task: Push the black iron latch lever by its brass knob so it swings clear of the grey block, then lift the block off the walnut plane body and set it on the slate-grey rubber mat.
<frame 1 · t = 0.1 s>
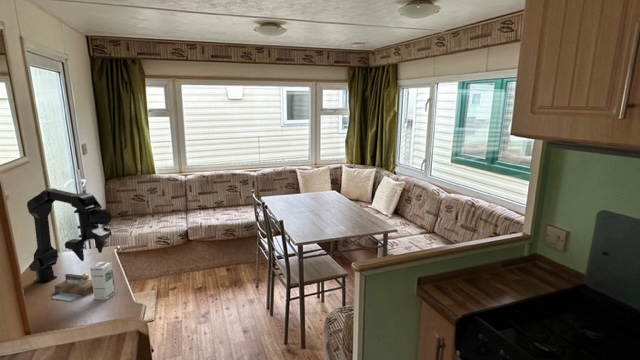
hand: (91, 256, 154), 15 cm above the cabinet, tool pointing down, fingers open, 9 cm apart
lever: (76, 278, 153), point 6 cm above the cabinet, hinge at 0.0°
plane body: (78, 289, 154), on the cabinet
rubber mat: (66, 297, 147), on the cabinet
syrup box: (105, 296, 149), on the cabinet
grey block: (77, 283, 153), point 3 cm above the cabinet, touching plane body
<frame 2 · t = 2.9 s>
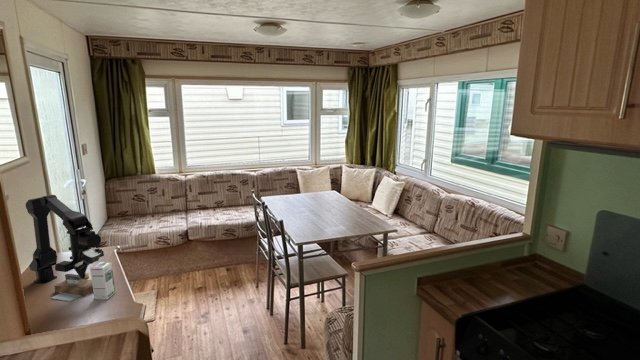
hand: (82, 278, 150), 7 cm above the cabinet, tool pointing down, fingers closed
lever: (77, 277, 153), point 5 cm above the cabinet, hinge at 1.4°, touching gripper
everything else where it was.
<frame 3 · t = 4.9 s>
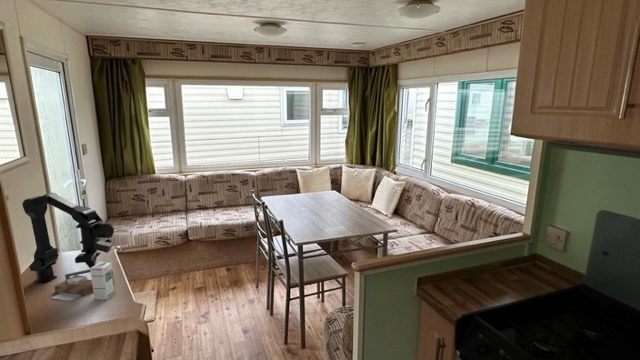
hand: (92, 270, 158), 7 cm above the cabinet, tool pointing down, fingers closed
lever: (81, 273, 157), point 6 cm above the cabinet, hinge at 47.2°, touching gripper
everything else where it was.
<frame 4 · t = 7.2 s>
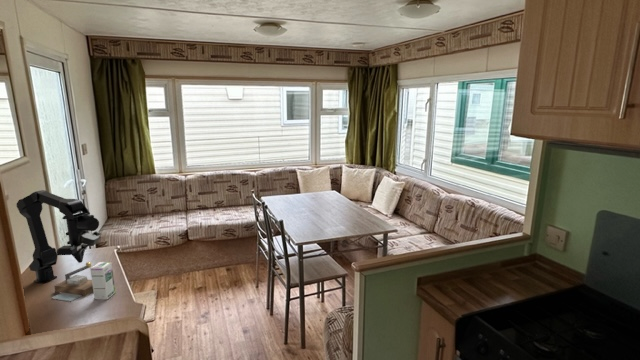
hand: (80, 262, 155), 12 cm above the cabinet, tool pointing down, fingers closed
lever: (78, 272, 159), point 6 cm above the cabinet, hinge at 83.5°
everything else where it was.
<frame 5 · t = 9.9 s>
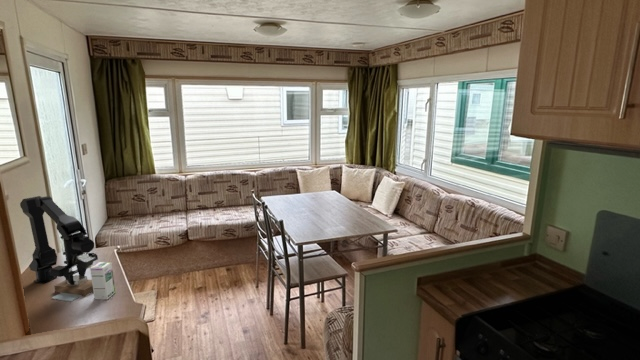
hand: (77, 282, 153), 4 cm above the cabinet, tool pointing down, fingers closed on grey block, 4 cm apart
grey block: (77, 283, 153), point 3 cm above the cabinet, touching gripper, plane body
everything else where it was.
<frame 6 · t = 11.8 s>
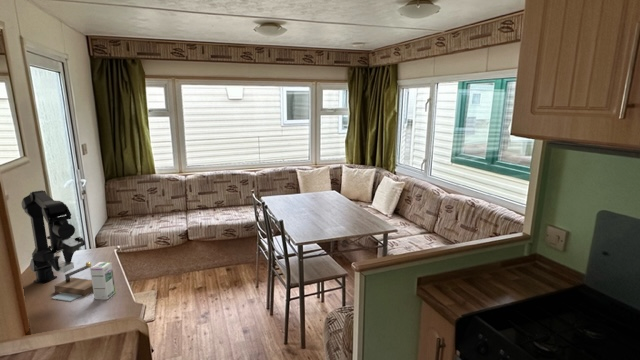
hand: (63, 268, 145), 13 cm above the cabinet, tool pointing down, fingers closed on grey block, 4 cm apart
grey block: (63, 269, 145), point 12 cm above the cabinet, touching gripper
everything else where it was.
when the fingers open (3 cm above the cabinet, at t = 13.9 s): grey block drops 3 cm, resting on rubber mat.
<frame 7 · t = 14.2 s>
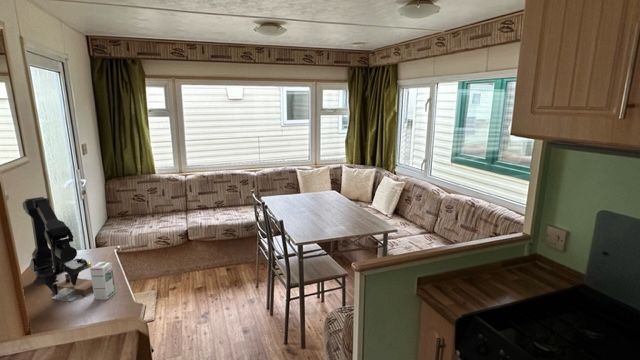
hand: (65, 289, 147), 3 cm above the cabinet, tool pointing down, fingers open, 8 cm apart
grey block: (66, 296, 147), resting on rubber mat
everything else where it was.
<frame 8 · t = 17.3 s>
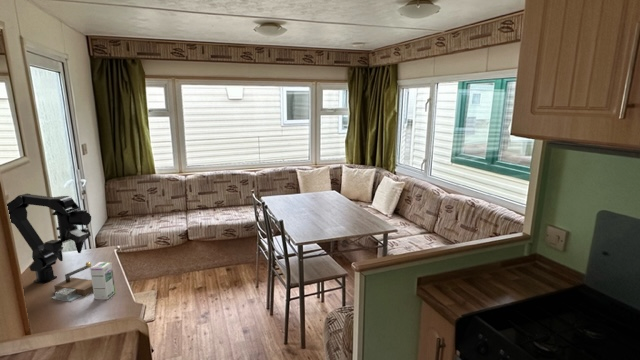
hand: (70, 256, 159), 12 cm above the cabinet, tool pointing down, fingers open, 9 cm apart
nothing on the cabinet moved.
at the end: lever at +84° (first picture: +0°); grey block 0.4 cm from the target spot, resting on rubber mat; grey block tilted 0° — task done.
